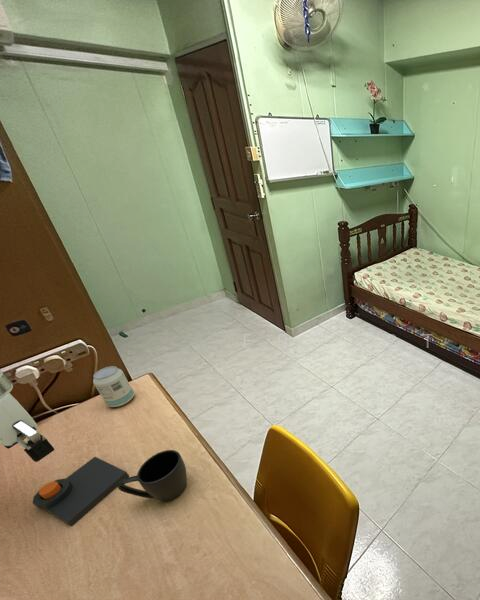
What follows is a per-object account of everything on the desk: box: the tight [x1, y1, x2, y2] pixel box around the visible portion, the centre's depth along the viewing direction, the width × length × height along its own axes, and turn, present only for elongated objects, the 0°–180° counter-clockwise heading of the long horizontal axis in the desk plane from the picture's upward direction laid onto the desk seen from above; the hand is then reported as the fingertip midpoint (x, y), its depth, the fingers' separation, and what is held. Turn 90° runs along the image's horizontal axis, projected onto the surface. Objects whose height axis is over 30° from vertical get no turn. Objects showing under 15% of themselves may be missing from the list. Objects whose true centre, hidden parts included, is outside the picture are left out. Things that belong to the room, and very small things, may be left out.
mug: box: [117, 449, 187, 503], centre depth 72 cm, size 8×12×10 cm
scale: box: [32, 456, 130, 527], centre depth 74 cm, size 12×12×4 cm
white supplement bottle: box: [92, 365, 135, 408], centre depth 97 cm, size 7×7×12 cm
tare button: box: [38, 480, 61, 499], centre depth 71 cm, size 3×3×2 cm
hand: (30, 449), depth 68 cm, fingers open, 9 cm apart
